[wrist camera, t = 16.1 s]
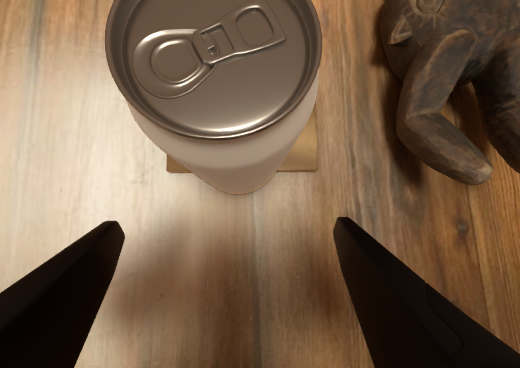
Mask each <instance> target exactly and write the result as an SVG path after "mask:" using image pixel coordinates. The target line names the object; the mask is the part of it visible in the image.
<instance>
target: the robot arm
mask: <svg viewBox="0 0 520 368" xmlns="http://www.w3.org/2000/svg"><path fill="white" fill-rule="evenodd" d="M333 236H334V240H335V245H336V249H337V254H338V258H339V263H340V267H341V271H342V274H343V277H344V280H345V283H346V285H347V288H348V291H349V294H350V297H351V300H352V303H353V306H354V309H355V312H356V315H357V318H358V320H359V323H360V326H361V329H362V332H363V335H364V338H365V341H366V344H367V347H368V350H369V353H370V355H371V358H372V361H373V364H374V367H375V368H520V354H519V353H517V352H516V351H515V350H513V349H512V348H511V347H509V346H508V345H507V344H505V343H504V342H503V341H501V340H500V339H499V338H497V337H496V336H495V335H493V334H492V333H490V332H489V331H488V330H486V329H485V328H484V327H482V326H481V325H480V324H478V323H477V322H476V321H474V320H473V319H472V318H470V317H469V316H468V315H466V314H465V313H464V312H462V311H461V310H460V309H458V308H457V307H456V306H454V305H453V304H452V303H451V302H450V301H448V300H447V299H446V298H445V297H443V296H442V295H441V294H440V293H438V292H437V291H436V290H435V289H434V288H432V287H431V286H430V285H429V284H428V283H425V281H424V280H423V279H422V278H420V277H419V276H418V275H417V274H416V273H414V272H413V271H412V270H411V269H410V268H408V267H407V266H406V265H405V264H404V263H403V262H401V261H400V260H399V259H398V258H397V257H395V256H394V255H393V254H392V253H391V252H389V251H388V250H387V249H386V248H385V247H383V246H382V245H381V244H380V243H379V242H377V241H376V240H375V239H374V238H373V237H372V236H370V235H369V234H368V233H367V232H366V231H364V230H363V229H362V228H361V227H360V226H358V225H357V224H356V223H355V222H354V221H352V220H351V219H350V218H349V217H338V218H337V221H336V224H335V227H334V230H333ZM124 240H125V235H124V232H123V230H122V228H121V226H120V225H119V223H118V222H117V221H105V222H103V223H102V224H100V225H99V226H97V227H96V228H94V229H93V230H91V231H90V232H88V233H87V234H86V235H84V236H83V237H81V238H80V239H78V240H77V241H75V242H74V243H72V244H71V245H70V246H68V247H67V248H65V249H64V250H62V251H61V252H59V253H58V254H56V255H55V256H54V257H52V258H51V259H49V260H48V261H46V262H45V263H43V264H42V265H40V266H39V267H38V268H36V269H35V270H33V271H32V272H30V273H29V274H27V275H26V276H24V277H23V278H21V279H20V280H19V281H17V282H16V283H14V284H13V285H11V286H10V287H8V288H7V289H5V290H4V291H2V292H1V293H0V368H74V367H75V364H76V362H77V360H78V357H79V355H80V353H81V350H82V348H83V346H84V343H85V341H86V339H87V336H88V334H89V332H90V329H91V327H92V325H93V322H94V320H95V318H96V315H97V313H98V311H99V308H100V306H101V304H102V301H103V299H104V297H105V294H106V292H107V290H108V287H109V285H110V283H111V280H112V278H113V275H114V272H115V269H116V266H117V263H118V260H119V256H120V253H121V250H122V247H123V243H124Z"/></svg>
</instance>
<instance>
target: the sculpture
mask: <svg viewBox="0 0 520 368" xmlns="http://www.w3.org/2000/svg"><path fill="white" fill-rule="evenodd" d="M380 33H381V39H382V43H383V47H384V50H385V53H386V56H387V58H388V61H389V63H390V66H391V69H392V70H393V72H394V74H395V75H396V76H397V77H398V78H399V79H400V80H401V81H402V82H403V87H402V90H401V93H400V98H399V103H398V109H397V119H396V132H397V136H398V137H399V139H400V140H401V142H402V143H403V144H404V145H405V146H406V147H407V148H408V149H409V150H410V151H411V152H412V153H414V154H415V155H416V156H417V157H418V158H419V159H420V160H422V161H423V162H424V163H425V164H426V165H428V166H430V167H431V168H433V169H434V170H436V171H438V172H440V173H442V174H444V175H446V176H448V177H450V178H452V179H454V180H456V181H459V182H461V183H465V184H468V185H477V184H481V183H484V182H486V181H487V180H488V179H489V178H490V176H491V173H492V171H493V169H494V168H493V165H492V164H491V163H490V161H489V160H488V159H487V158H486V157H485V156H484V154H483V153H482V152H481V151H480V150H479V149H478V148H477V147H476V146H475V145H474V144H473V143H472V142H471V141H470V140H469V139H468V138H467V137H466V136H465V135H464V134H463V133H462V132H461V131H460V130H459V129H458V128H457V127H456V126H455V125H453V124H452V123H451V122H450V121H448V120H447V119H446V118H445V117H443V116H442V115H441V114H440V110H441V109H442V108H443V106H444V105H445V103H446V102H447V99H448V97H449V95H450V93H451V92H452V91H453V90H455V89H457V88H460V87H462V86H464V85H465V84H467V83H469V82H472V84H473V87H474V89H475V95H476V98H477V101H478V107H479V111H480V114H481V120H482V126H483V132H484V134H485V135H486V137H487V139H488V140H489V142H490V143H491V144H492V146H493V147H494V148H495V149H496V150H497V152H498V153H499V154H500V155H501V156H502V158H503V159H504V160H505V161H506V163H507V164H508V165H509V166H510V167H511V168H513V169H514V170H515V171H516V172H518V173H520V0H386V1H385V3H384V6H383V10H382V14H381V21H380Z"/></svg>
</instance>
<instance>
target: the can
mask: <svg viewBox="0 0 520 368" xmlns="http://www.w3.org/2000/svg"><path fill="white" fill-rule="evenodd" d="M105 51H106V57H107V62H108V66H109V69H110V72H111V74H112V77H113V79H114V81H115V83H116V85H117V87H118V88H119V90H120V92H121V93H122V95H123V96H124V97H125V99H126V101H127V104H128V106H129V109H130V111H131V113H132V115H133V117H134V119H135V121H136V122H137V124H138V125H139V127H140V128H141V129H142V131H143V132H144V133H145V134H146V135H147V136H148V138H149V139H150V140H151V141H152V142H153V143H154V144H155V145H156V146H158V147H159V148H160V149H161V150H163V151H164V152H165V153H166V154H168V155H169V156H170V157H172V158H173V159H174V160H176V161H177V162H178V163H180V164H181V165H183V166H184V167H185V168H187V169H188V170H190V171H191V172H193V173H194V174H195V175H197V176H198V177H200V178H201V179H203V180H204V181H206V182H207V183H208V184H210V185H211V186H213V187H215V188H216V189H218V190H220V191H223V192H226V193H230V194H247V193H251V192H254V191H256V190H258V189H260V188H261V187H263V186H264V185H265V184H267V183H268V182H269V181H270V179H271V178H272V177H273V176H274V174H275V173H276V171H277V170H278V168H279V167H280V165H281V164H282V162H283V161H284V159H285V158H286V156H287V154H288V153H289V151H290V150H291V148H292V147H293V145H294V143H295V142H296V140H297V139H298V137H299V135H300V134H301V132H302V130H303V129H304V127H305V125H306V123H307V121H308V119H309V117H310V115H311V113H312V110H313V107H314V104H315V101H316V97H317V93H318V85H319V69H318V68H319V65H320V60H321V53H322V33H321V27H320V22H319V18H318V15H317V12H316V10H315V7H314V5H313V3H312V1H311V0H114V2H113V4H112V7H111V9H110V12H109V15H108V19H107V24H106V30H105Z"/></svg>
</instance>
